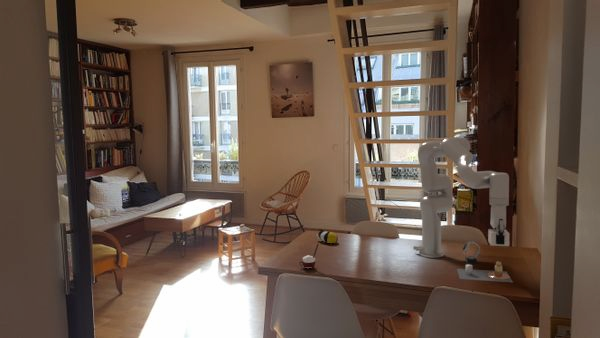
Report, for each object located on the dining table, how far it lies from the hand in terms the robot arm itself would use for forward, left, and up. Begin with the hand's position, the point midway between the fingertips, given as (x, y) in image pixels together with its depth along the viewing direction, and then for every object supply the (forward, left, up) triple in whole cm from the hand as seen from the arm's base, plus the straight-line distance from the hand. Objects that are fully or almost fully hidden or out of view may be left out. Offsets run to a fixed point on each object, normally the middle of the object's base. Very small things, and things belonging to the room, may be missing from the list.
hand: (498, 241), depth 183 cm
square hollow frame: (0, 0, -1) cm, 1 cm away
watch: (-9, +20, -17) cm, 28 cm away
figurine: (-87, +48, -17) cm, 101 cm away
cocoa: (-85, -1, -17) cm, 87 cm away
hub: (0, 0, -15) cm, 15 cm away
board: (-6, 0, -17) cm, 18 cm away
